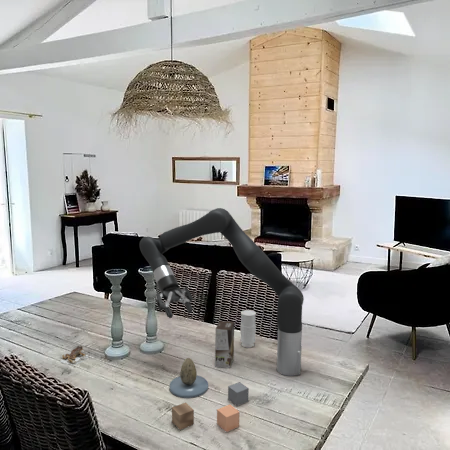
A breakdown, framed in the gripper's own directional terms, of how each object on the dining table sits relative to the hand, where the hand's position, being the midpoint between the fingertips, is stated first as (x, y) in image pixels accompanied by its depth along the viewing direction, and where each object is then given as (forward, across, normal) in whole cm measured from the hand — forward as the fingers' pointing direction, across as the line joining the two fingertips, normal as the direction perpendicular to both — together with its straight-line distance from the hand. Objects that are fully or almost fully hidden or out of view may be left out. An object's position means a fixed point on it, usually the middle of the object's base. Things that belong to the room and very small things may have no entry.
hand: (181, 314), depth 159 cm
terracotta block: (+43, -5, -8) cm, 44 cm away
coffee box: (+19, +18, +15) cm, 30 cm away
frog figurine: (-10, -30, +43) cm, 54 cm away
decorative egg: (+23, -4, +9) cm, 25 cm away
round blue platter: (+24, -4, +9) cm, 26 cm away
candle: (+14, +37, +21) cm, 44 cm away
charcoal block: (+37, +6, -2) cm, 37 cm away
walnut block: (+36, -16, -2) cm, 40 cm away
